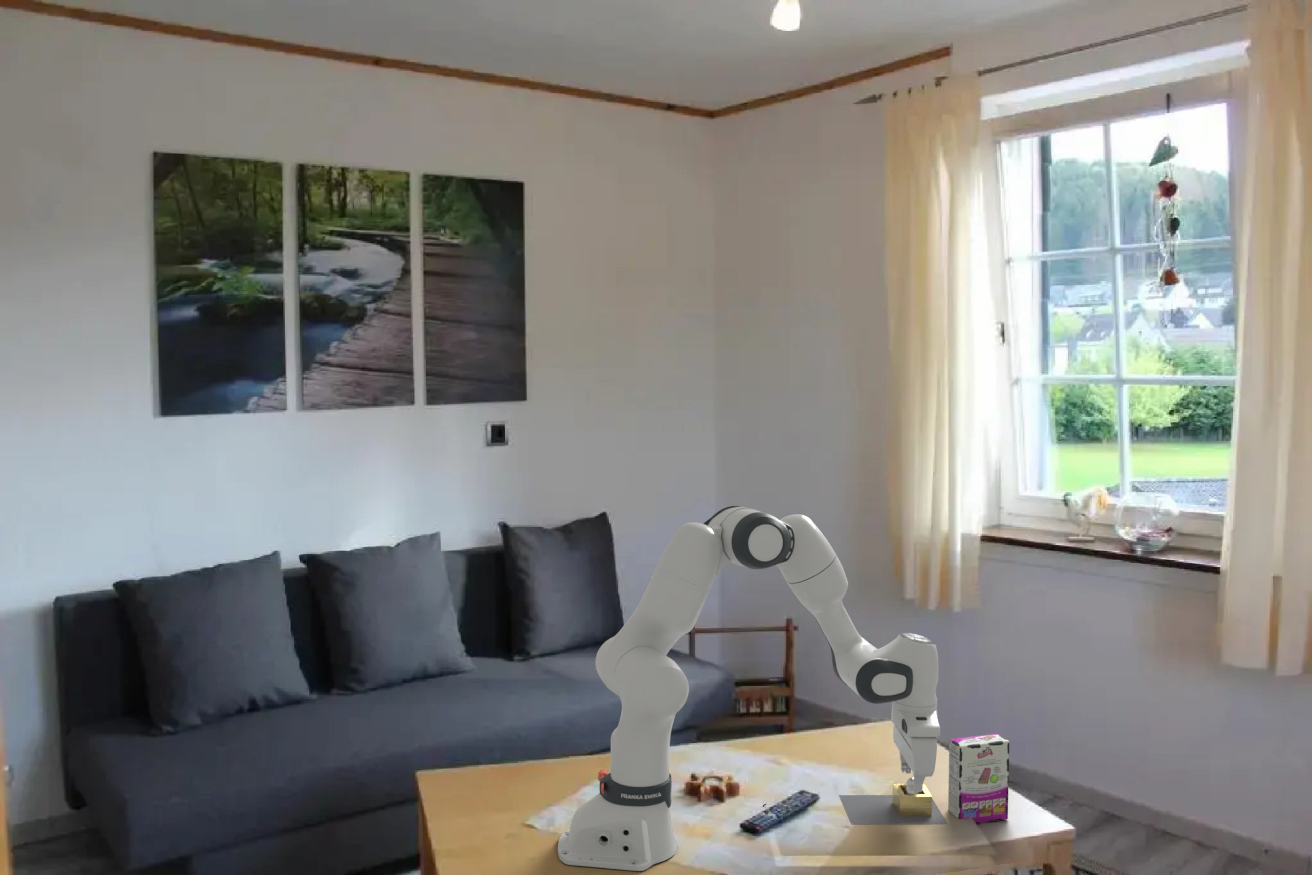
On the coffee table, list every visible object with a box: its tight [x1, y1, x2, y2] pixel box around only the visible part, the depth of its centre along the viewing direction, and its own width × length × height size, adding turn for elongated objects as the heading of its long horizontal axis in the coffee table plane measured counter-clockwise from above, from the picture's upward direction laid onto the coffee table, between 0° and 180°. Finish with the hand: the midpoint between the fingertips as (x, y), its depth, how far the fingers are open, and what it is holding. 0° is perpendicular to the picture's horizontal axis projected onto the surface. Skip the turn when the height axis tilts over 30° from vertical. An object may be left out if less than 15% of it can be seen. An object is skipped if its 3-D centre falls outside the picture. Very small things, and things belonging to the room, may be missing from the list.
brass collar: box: [892, 783, 933, 816], centre depth 232 cm, size 6×6×4 cm
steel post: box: [905, 777, 918, 794], centre depth 232 cm, size 2×2×6 cm
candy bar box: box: [947, 733, 1010, 825], centre depth 231 cm, size 11×5×16 cm, turn 105°
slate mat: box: [838, 794, 949, 825], centre depth 232 cm, size 19×14×2 cm
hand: (911, 781), depth 231 cm, fingers open, 8 cm apart
